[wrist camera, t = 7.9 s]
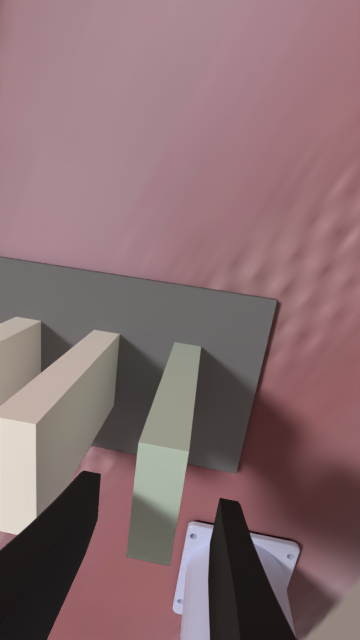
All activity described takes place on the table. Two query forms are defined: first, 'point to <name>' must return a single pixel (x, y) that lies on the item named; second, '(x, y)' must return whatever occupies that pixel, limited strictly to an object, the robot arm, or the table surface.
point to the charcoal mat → (151, 346)
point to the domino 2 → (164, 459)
